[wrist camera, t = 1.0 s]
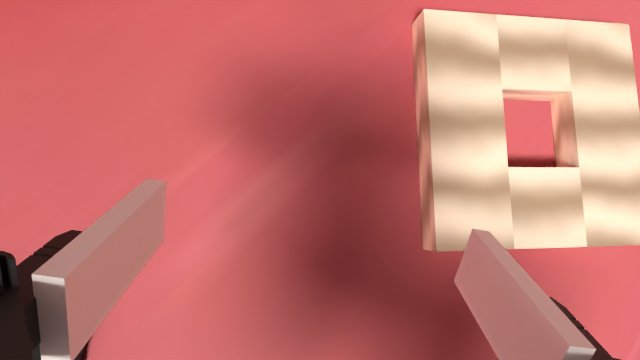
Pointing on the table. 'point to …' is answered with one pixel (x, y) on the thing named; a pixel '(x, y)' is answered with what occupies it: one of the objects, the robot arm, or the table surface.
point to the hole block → (490, 137)
